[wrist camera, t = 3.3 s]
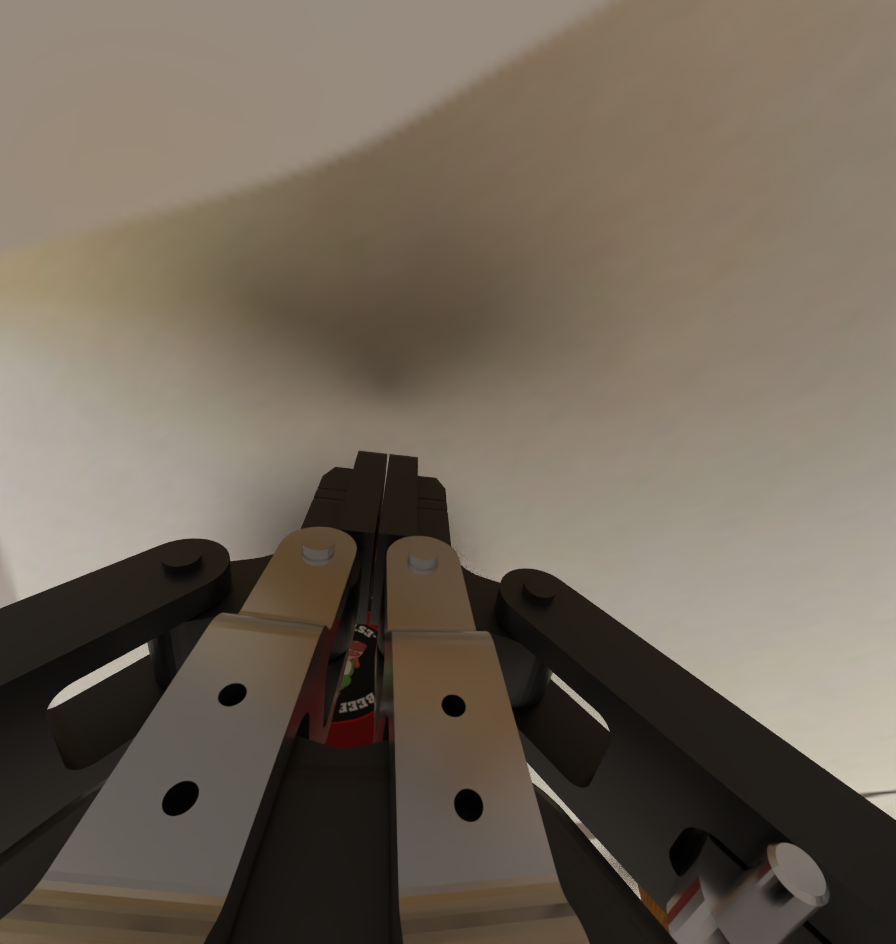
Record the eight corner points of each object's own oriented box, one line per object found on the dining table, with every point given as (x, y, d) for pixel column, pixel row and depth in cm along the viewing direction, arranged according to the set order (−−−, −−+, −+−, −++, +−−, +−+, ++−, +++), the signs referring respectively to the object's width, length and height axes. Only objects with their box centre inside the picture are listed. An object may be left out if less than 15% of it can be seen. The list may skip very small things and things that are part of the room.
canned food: (461, 528, 19) (499, 848, 9) (444, 660, 22) (458, 988, 13) (272, 518, 18) (93, 851, 8) (286, 656, 22) (175, 996, 12)
